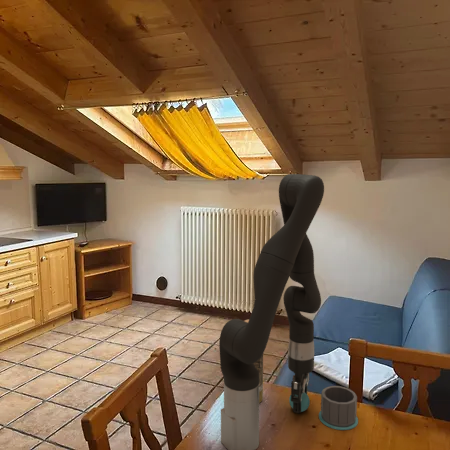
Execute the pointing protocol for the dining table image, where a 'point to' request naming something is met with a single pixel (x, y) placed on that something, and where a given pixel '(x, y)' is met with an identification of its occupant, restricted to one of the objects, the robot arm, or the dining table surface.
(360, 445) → the dining table surface
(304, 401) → the ball
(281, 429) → the dining table surface
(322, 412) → the grey ribbed round container
